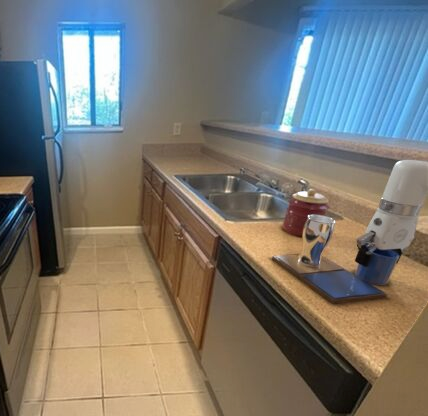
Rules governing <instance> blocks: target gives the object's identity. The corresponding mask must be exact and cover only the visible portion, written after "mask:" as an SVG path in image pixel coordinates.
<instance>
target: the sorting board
mask: <svg viewBox="0 0 428 416" xmlns="http://www.w3.org/2000/svg"><path fill="white" fill-rule="evenodd" d="M299 254H300V253H290V254H279V255H272V257H271V260H272V261H274V263H276V264H278V265H279V266H280V267H282V268H283V269H284V270H285V271H287V272H288V273H290V274H291V275H293V276H294V277H295V278H297V279H298V280H299V281H301V282H302V283H304V284H305V285H306V286H307V287H309V288H310V289H312V290H313V291H314V292H316V293H317V294H318V295H320V296H321V297H322V298H324V299H325V300H326V301H328V302H329V303H330V304H332V305H334V304H342V303H350V302H351V303H353V302H358V301H359V302H360V301H367V300H376V299H384V298H387V296H388V293H386V292H385V291H383V290H381V289H380V288H378V287H376V285H375V286H374V284H371V283H368V282H366V281H364V280H363V279H361V278H359V277H358V276H356V275H355V273H352V272H351V271H349V270H347V269H346V268H344V267H342V266H340V265H338V264H337V263H335V262H334V261H332V260H330V259H329V258H327V257H325V256H324V255H322V257H321V266H320V267H309V266H305V265H303V264H301V263H299V262H298V260H297V258H298V256H299Z"/></svg>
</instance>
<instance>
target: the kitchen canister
mask: <svg viewBox="0 0 428 416" xmlns="http://www.w3.org/2000/svg"><path fill="white" fill-rule="evenodd" d="M329 201H330V200H329V198H327V197H326V196H325V195H323V194H321V193H317V191H316V189H314V188H310V189H308V190H307V191H298V192H296V193H293V194H292V196H291V198H290V199H289V198H288V206H287V207H286V211H285V215H284V220H283V222H282V229H283V230H284V231H285V232H287V233H288V234H291V235H293V236H296V237H301V238H302V235H303V229H304V226H305V223H306V221H307V218H308V216H309V215H323V216H327V217H328V214H327V211H328V210H329V209H330V208H331V207H330V205H329V204H328V203H329Z"/></svg>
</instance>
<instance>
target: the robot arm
mask: <svg viewBox="0 0 428 416" xmlns="http://www.w3.org/2000/svg"><path fill="white" fill-rule="evenodd" d="M384 188H385V189H384V191H383V193H382V196H381V199H380V201H379V204H378V207H377V209H376V211H375V213H374V215H373V216H372V218H371V220H370V222H369V223H368V225H367V228H366V230H365V232H364V234H363V235H361V236H359V237H357V238H356V247H357V250H358V251H357V253H356V256H355V258H354V262H355V263H357V264H358V263H359V264H360V265H362V266H364V267H367V266H368V264H369V262H370V259H371V257H372V255H371V253H372V252H373V251H374V250H375V249H377V248H378V249H380V250H388V249H390V250H393V251H395V252H396V253H398V254H399V258H398V261H397V263H396V265H398V264H399V261H400V259H401V257H402V255H403V253H404V252H406V250H407V249H406V248H408V247H409V246H410V245H411V243H412V241H413V240H414V239H415V238H416V235H415V233H416V231H417V226H418V223H419V214H420V211H421V210H422V207H423V205H424V204H425V200H426V198H427V196H428V161H425V160H416V159H402V160H399V161H397V162H396V163H395V164H394V166H393V168H392V171H391V173H390V176H389V178H388V181H387V183H386V185H385V187H384ZM367 245H370V246H371V247H370V248H369V249H368V248H367Z"/></svg>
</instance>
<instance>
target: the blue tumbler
mask: <svg viewBox="0 0 428 416" xmlns="http://www.w3.org/2000/svg"><path fill="white" fill-rule="evenodd" d="M370 247H371V246H370V245H367V248H368V249H369V248H370ZM371 255H372V257H371V259H370V262H369V264H368V266H367V267H364V266H362V265H360V264H359V263H357V266H356V269H355V272H354V275H356V276H358V277H359V278H361V279H363V280H364V281H366V282H368V283H369V284H371V285H375V286H386V285H387V284H388V283H389V282H390V280H391V276H392V275H393V272H394V270H395V268H396V266H397V264H398V263H397V261H398V258H399V254H398V253H396V252H395V251H393V250H390V249H388V250H380V249H378V248H377V249H375V250H374V251H373V252H372V253H371ZM398 262H399V261H398ZM396 263H397V264H396Z"/></svg>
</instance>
